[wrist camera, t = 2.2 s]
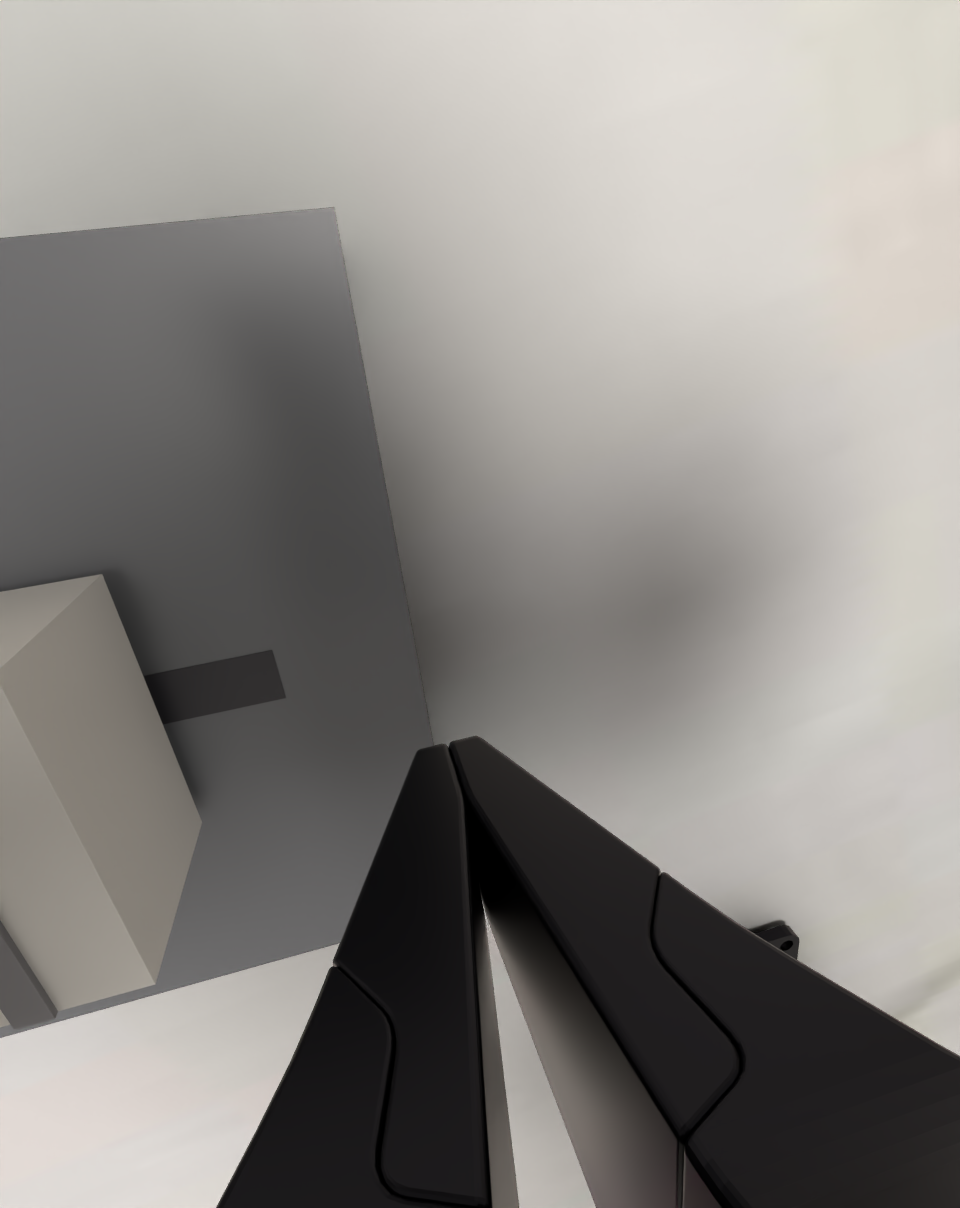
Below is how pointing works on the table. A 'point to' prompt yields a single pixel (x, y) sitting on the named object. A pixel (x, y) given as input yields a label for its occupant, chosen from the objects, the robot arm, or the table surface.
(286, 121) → the table surface
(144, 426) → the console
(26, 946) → the fader knob
